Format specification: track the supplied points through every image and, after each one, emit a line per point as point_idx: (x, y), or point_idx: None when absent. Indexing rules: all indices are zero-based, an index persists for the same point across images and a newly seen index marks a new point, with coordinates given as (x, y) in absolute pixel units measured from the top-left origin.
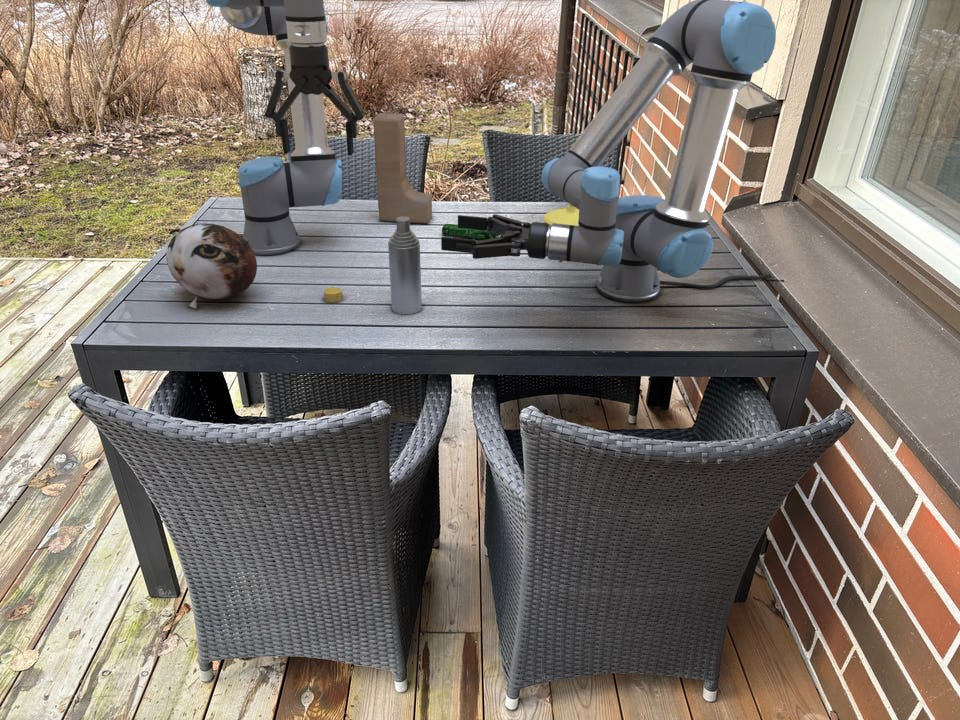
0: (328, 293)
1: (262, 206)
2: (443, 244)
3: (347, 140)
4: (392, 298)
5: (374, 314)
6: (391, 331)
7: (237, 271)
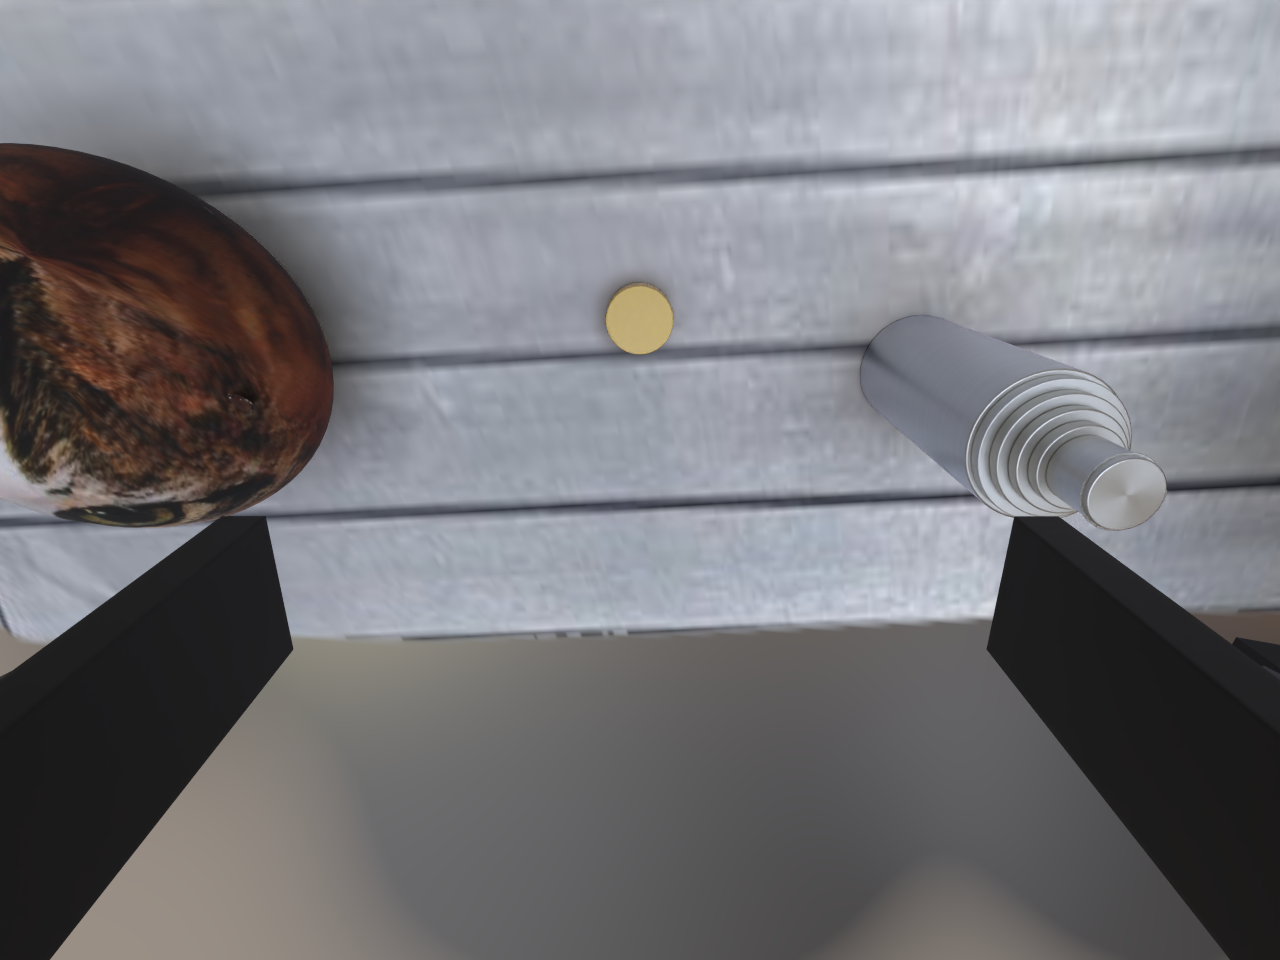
0: (629, 348)
1: None
2: None
3: (1095, 772)
4: (881, 412)
5: (802, 425)
6: (863, 531)
7: (290, 479)
